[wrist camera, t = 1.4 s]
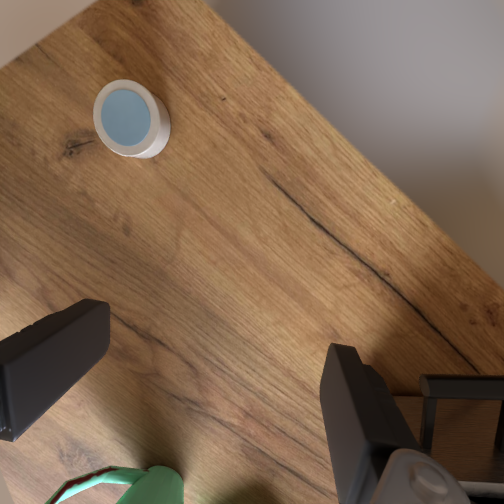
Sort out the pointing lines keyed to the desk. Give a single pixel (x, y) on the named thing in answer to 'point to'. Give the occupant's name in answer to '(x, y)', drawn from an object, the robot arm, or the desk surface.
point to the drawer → (462, 429)
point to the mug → (139, 494)
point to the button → (131, 119)
